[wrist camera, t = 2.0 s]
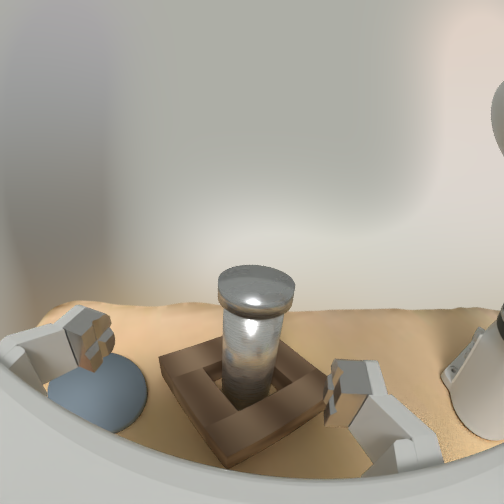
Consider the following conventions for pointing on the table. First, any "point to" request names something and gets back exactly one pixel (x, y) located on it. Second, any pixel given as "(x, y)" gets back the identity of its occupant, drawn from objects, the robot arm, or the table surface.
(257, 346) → the steel plug
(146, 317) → the table surface
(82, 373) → the slate rubber mat
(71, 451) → the robot arm
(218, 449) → the walnut socket block
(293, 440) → the table surface
